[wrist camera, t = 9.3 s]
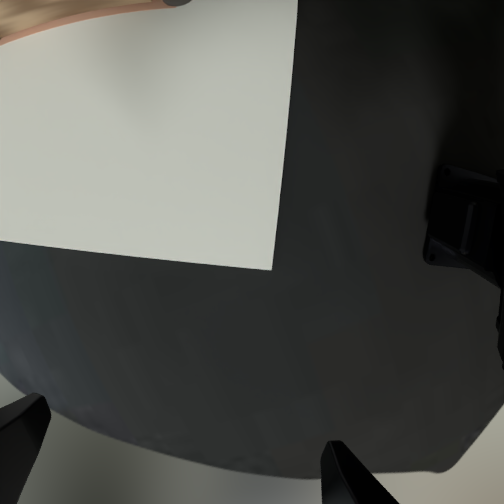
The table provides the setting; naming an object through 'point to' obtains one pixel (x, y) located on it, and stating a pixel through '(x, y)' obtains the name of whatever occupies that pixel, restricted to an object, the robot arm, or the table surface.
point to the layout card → (149, 130)
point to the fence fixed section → (176, 2)
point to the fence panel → (47, 11)
